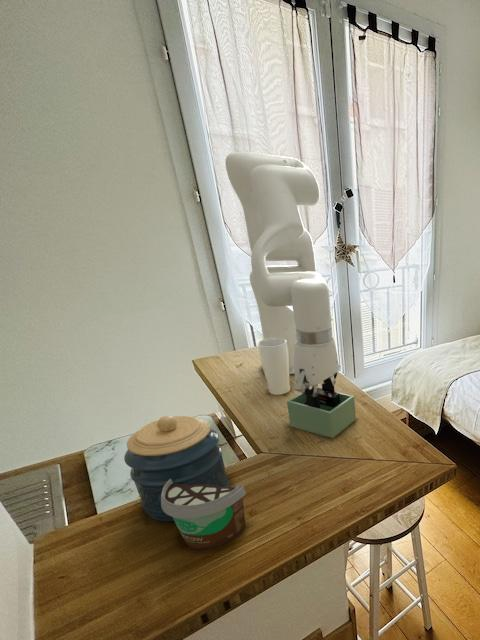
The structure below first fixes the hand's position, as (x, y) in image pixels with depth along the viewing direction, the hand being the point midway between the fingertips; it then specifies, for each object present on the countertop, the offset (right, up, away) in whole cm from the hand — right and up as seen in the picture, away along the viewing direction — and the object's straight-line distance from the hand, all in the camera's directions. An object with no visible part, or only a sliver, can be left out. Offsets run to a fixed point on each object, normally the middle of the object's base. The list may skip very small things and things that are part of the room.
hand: (321, 402), depth 98 cm
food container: (-5, -21, -31) cm, 38 cm away
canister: (-14, -16, -23) cm, 32 cm away
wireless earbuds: (0, -1, 0) cm, 1 cm away
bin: (-1, -5, +2) cm, 6 cm away
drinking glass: (-18, +2, +14) cm, 23 cm away
